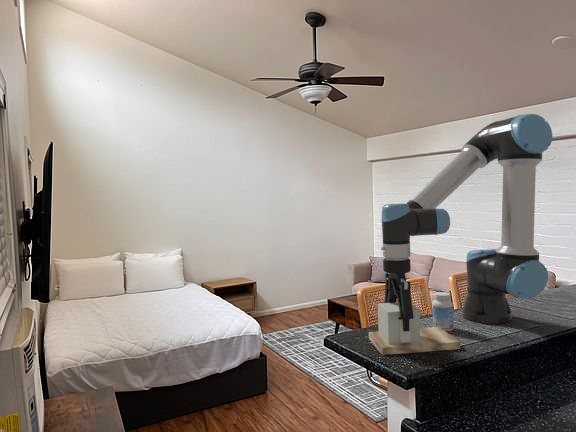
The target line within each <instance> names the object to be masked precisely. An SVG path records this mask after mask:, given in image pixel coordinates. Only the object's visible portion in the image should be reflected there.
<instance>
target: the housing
mask: <svg viewBox="0 0 576 432" xmlns="http://www.w3.org/2000/svg"><path fill="white" fill-rule="evenodd" d="M412 308H413V316H414V318H413V319H410V341H411V342H403V343H414V342H420V328H421V321H420V320H421V316H420V314H421V313H420V312H421V311H420V310H421V309H419V308H417V307H416V306H414V305H413V304H412ZM377 317H378V318H377V321H378V322H377V323H378V331H379V334H380V336H381V337H382V338H383V339H384V340H385V341H386V342H387V343H388V344H401V342H400V325H399V319H398V318H399V317H401V316H400V311H399V306H398V301H396V302H395V303H384V302H382V303H381V302H379V303H377Z"/></svg>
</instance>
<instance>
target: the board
mask: <svg viewBox="0 0 576 432" xmlns="http://www.w3.org/2000/svg"><path fill="white" fill-rule="evenodd" d="M368 339H369V341H370V342H371V343H372V344H373V345H374V347H375V348H376V349H377V350H378V352H379V353H380V354H381V355H383V356H386V355H397V354H398V355H400V354H412V353H425V352H435V351H436V352H437V351H440V352H441V351H451V350H452V351H453V350H461V341H460V340H458V339H457V338H456V337H454V336H453V335H452V334H450V333H448V331H444V330H443V329H441V328H440V327H433V326H431V327H429V326H428V327H420V342H414V343H401V344H388V343H387V342H386V341H385V340H384V339H383V338H382V337H381V336H380V334H379V330H376V331H368Z"/></svg>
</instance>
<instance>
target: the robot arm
mask: <svg viewBox="0 0 576 432" xmlns="http://www.w3.org/2000/svg"><path fill="white" fill-rule="evenodd" d="M552 141H553V130H552V127H551V125H550V123H549V122H548V121H547V120H545V117H542V116H541V115H539V114H536V113H526V114H518V115H515V116H512V117H509V118H506V119H501V120H496V121H493V122H491V123H489V124H487V125H486V126H484V127H483V128H482V129H480V130H479V131H478V132H477V133H476V134H474V135H473V136H472V137H471V138H470V139H469V140H468V141H467V142H465V143H464V145H463V146H462V147H461V148H460V149H461V150H460V152H459V153H458V154H457V155H456V157H455V158H453V159H452V160H451V161H450V162H449V163H448V164H447V165H446V166H445V167H444V168H442V169H441V170H440V171H439V172H438V173H437V174H436V175H435V176H434V177H433V178H432V179H430V181H429V182H428V183H427V184H425V186H423V187H422V188H421V189H420V190H419V191H418V192H417V193H416V194H415V195H413V197H411V198H410V199H409V200H408V201H407V202H406V203H387V204H383V206H382V208H381V220H380V222H381V229H382V230H381V231H382V247H380V250H381V251H382V257H383V260H382V267H383V272H384V273H385V274H384V276H385V277H384V278H385V285H384V301H383V303H395V302H398V306H399V311H400V316H401V317H399V318H398V319H399V325H400V342H401V343H403V342H411V341H410V319H413V318H414V316H413V308H412V305H413V300H412V292H411V282H410V281H409V280H407V278H406V276H405V275H406V274H408V273H410V272H411V269H412V268H411V259H410V257H411V237H415V236H417V237H418V236H438V235H443V234H446V233H448V231H449V229H450V227H451V217H450V214H449V212H448V211H447V210H446V209H444V208H438V207H439V206H440V205H441V204H442V203H443V202H444V201H445V200H446V199H447V198H449V196H451V195H452V194H453V192H455V191H456V190H457V189H458V188H459V187H460V186H461V185H462V184H464V182H466V181H467V180H468V179H469V178H470V177H471V176H472V175H473V174H474V173H475V172H476V171H478V169H483V168H485V167H486V166H488V165H489V163H491V162H493V161H495V160H497V163H498V164H499V165H500V166H501V167H502V201H501V203H502V205H501V242H500V247H498V248H493V249H491V248H490V249H489V248H487V249H475V250H473V249H472V250H470V251H468V252H467V254H466V261H465V263H466V287H467V288H466V289H467V290H466V291H467V292H466V297H465V300H464V303H463V305H462V307H461V312H462V314H461V315H462V317H463V318H464V319H466V320H468V321H471V322H475V323H480V324H488V325H489V324H490V325H495V324H496V325H498V324H499V325H500V324H501V325H502V324H506V323H509V322H511V321H512V320H513V314H512V310H511V307H510V305H509V302H508V299H507V295H508V296H511V297H514V298H519V299H526V300H527V299H534V298H536V297H537V296H539V295H540V294H541V293H542V292H543V291H544V290H545V289H546V286H547V284H548V281H549V271H548V268H547V267H546V266H545V264H544V263H542V262H541V261H540V252H539V251H538V250H537V249H536V248H535V247H534V243H535V242H534V240H535V238H534V237H535V234H534V233H535V212H536V211H535V210H536V209H535V208H536V207H535V203H536V176H537V175H536V169H537V166H538V165H539V164H540V163H541V162H542V161H543V153H544V152H546V151H547V150H548V149H549V147H550V146H551V144H552Z"/></svg>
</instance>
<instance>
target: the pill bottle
mask: <svg viewBox="0 0 576 432" xmlns="http://www.w3.org/2000/svg"><path fill="white" fill-rule="evenodd" d="M454 326H455V324H454V304H453V301H451V293H450V292H447V291H446V292H445V291H438V292H434V300H433V301H432V327H440V328H441V329H443V330H444V331H446V332H451V331H453V330H454Z"/></svg>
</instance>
